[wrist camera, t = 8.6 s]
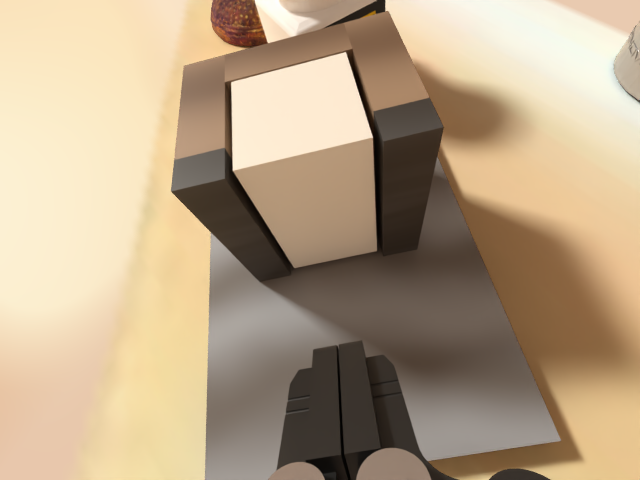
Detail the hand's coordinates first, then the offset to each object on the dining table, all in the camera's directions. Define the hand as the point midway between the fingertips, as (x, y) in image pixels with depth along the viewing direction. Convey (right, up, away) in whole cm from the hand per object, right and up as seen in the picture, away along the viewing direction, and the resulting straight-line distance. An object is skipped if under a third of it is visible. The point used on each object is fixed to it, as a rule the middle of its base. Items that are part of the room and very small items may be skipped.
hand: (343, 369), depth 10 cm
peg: (0, +5, +10) cm, 11 cm away
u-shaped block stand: (0, +2, +10) cm, 11 cm away
